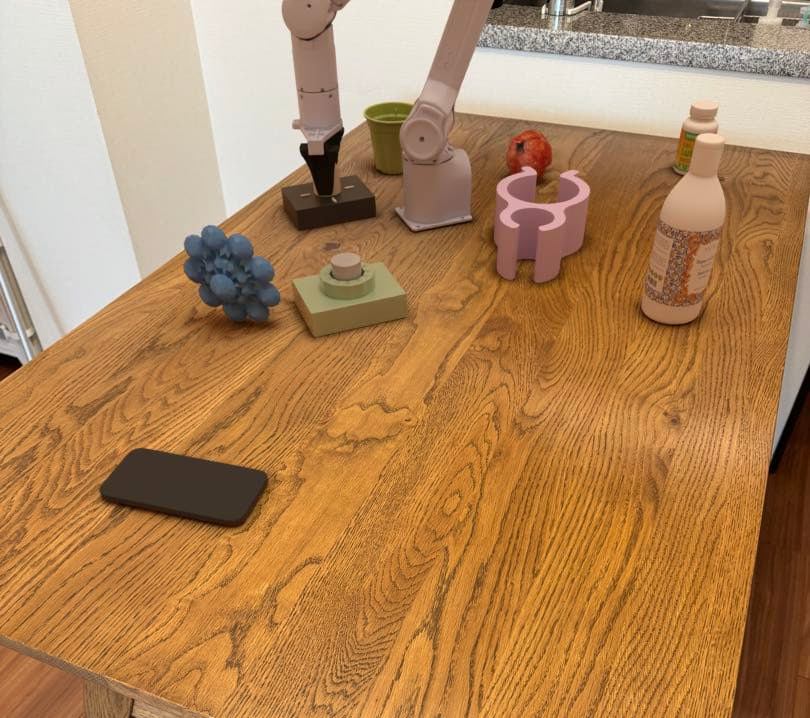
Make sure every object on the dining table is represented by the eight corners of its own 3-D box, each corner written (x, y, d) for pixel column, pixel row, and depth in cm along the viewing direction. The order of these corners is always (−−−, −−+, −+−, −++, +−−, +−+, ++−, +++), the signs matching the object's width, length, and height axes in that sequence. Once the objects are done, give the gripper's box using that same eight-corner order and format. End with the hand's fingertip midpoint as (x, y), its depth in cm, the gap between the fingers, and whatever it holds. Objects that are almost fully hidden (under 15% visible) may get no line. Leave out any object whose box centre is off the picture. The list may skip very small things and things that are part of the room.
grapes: (182, 335, 95) (156, 239, 86) (203, 307, 99) (181, 213, 91) (272, 344, 93) (256, 247, 84) (290, 315, 97) (276, 220, 89)
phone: (238, 523, 70) (93, 493, 74) (240, 530, 71) (96, 499, 74) (271, 471, 75) (134, 445, 78) (272, 477, 76) (136, 451, 79)
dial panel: (357, 194, 123) (356, 173, 120) (376, 216, 117) (375, 195, 115) (283, 207, 120) (280, 186, 118) (299, 231, 114) (296, 209, 112)
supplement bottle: (671, 175, 124) (685, 109, 117) (673, 163, 128) (687, 97, 121) (706, 178, 123) (723, 111, 116) (708, 165, 127) (724, 99, 120)
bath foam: (670, 332, 92) (714, 155, 78) (628, 308, 96) (662, 135, 82) (711, 314, 95) (760, 139, 80) (668, 292, 99) (707, 121, 85)
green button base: (383, 284, 102) (381, 247, 99) (407, 317, 96) (406, 279, 93) (294, 302, 100) (289, 265, 96) (314, 337, 94) (309, 299, 90)
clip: (571, 286, 101) (578, 233, 96) (476, 276, 103) (478, 224, 98) (588, 220, 114) (595, 171, 109) (504, 213, 116) (507, 164, 111)
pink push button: (356, 266, 96) (355, 250, 95) (365, 279, 94) (364, 263, 92) (328, 271, 95) (327, 255, 94) (337, 285, 93) (335, 268, 92)
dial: (316, 186, 118) (313, 159, 115) (342, 186, 117) (340, 159, 115) (312, 197, 115) (309, 170, 112) (338, 197, 115) (336, 170, 112)
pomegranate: (518, 181, 130) (484, 155, 122) (545, 139, 127) (512, 110, 120) (546, 200, 126) (513, 175, 119) (574, 158, 123) (542, 129, 116)
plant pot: (425, 157, 133) (424, 101, 126) (420, 179, 126) (419, 121, 120) (370, 157, 133) (367, 101, 127) (363, 179, 127) (359, 121, 121)
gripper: (295, 70, 111) (306, 169, 121) (280, 104, 101) (293, 209, 111) (344, 70, 111) (351, 168, 121) (334, 103, 101) (343, 208, 111)
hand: (327, 188), depth 116 cm, fingers closed on dial, 4 cm apart
